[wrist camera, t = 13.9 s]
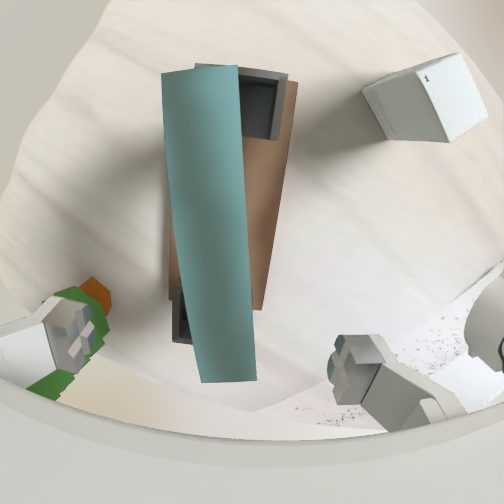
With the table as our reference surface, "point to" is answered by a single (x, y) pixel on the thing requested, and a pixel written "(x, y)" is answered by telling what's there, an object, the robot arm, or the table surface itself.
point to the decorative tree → (100, 306)
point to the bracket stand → (251, 180)
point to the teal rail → (210, 217)
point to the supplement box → (427, 101)
